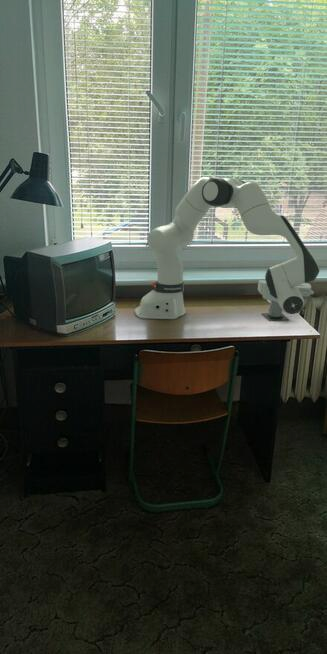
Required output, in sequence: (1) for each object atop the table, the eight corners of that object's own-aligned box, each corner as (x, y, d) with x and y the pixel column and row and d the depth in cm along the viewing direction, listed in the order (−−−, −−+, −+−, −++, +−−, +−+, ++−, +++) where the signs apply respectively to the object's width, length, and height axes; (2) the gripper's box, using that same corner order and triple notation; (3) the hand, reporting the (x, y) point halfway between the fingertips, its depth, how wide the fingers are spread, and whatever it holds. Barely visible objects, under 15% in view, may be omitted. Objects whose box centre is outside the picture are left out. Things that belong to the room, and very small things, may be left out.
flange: (269, 321, 209) (269, 319, 209) (261, 314, 218) (261, 312, 217) (288, 320, 211) (289, 318, 211) (280, 313, 219) (280, 312, 219)
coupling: (268, 317, 211) (271, 296, 208) (267, 313, 217) (269, 292, 214) (283, 318, 211) (285, 296, 207) (281, 313, 216) (283, 292, 213)
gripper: (316, 286, 182) (309, 276, 195) (260, 282, 183) (257, 273, 196) (313, 302, 184) (307, 291, 197) (258, 298, 186) (255, 288, 198)
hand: (282, 282), depth 197 cm, fingers open, 8 cm apart
